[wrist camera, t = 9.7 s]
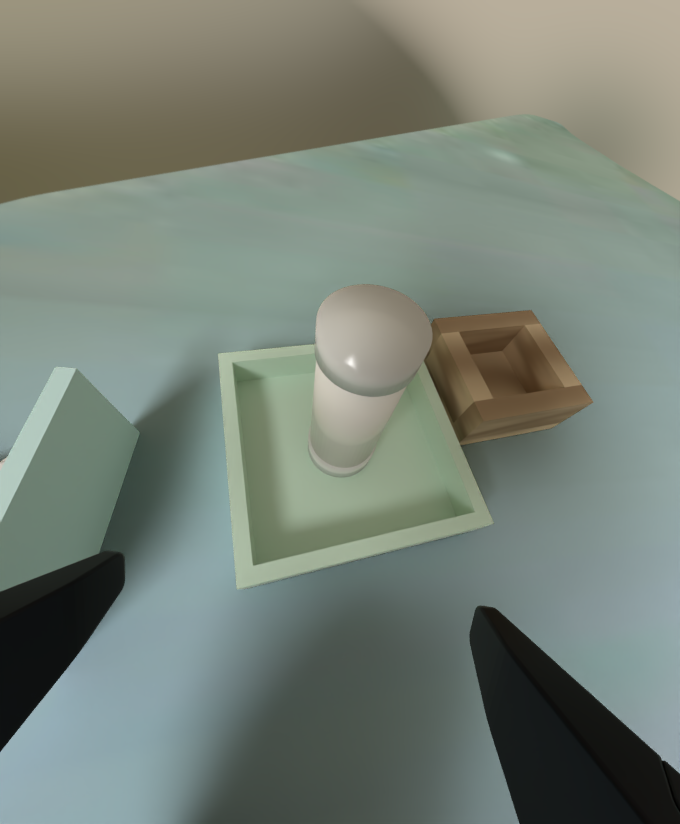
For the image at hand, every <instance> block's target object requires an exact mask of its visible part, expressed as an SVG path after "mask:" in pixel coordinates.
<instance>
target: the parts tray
mask: <svg viewBox="0 0 680 824" xmlns="http://www.w3.org/2000/svg"><path fill="white" fill-rule="evenodd" d="M314 347H315V344H311V345H301V346H291V347H280V348H270V349H260V350H250V351H240V352H230V353H220V354H218V359H219V372H220V384H221V397H222V409H223V422H224V435H225V447H226V460H227V473H228V485H229V498H230V511H231V523H232V536H233V548H234V561H235V574H236V586H237V589H248V588H252V587H256V586H260V585H264V584H267V583H271V582H275V581H279V580H283V579H287V578H291V577H295V576H299V575H303V574H306V573H310V572H314V571H318V570H322V569H326V568H330V567H334V566H338V565H342V564H346V563H349V562H353V561H357V560H361V559H365V558H369V557H373V556H377V555H381V554H385V553H388V552H392V551H396V550H400V549H404V548H408V547H412V546H416V545H420V544H424V543H428V542H431V541H435V540H439V539H443V538H447V537H451V536H455V535H459V534H463V533H467V532H470V531H473V530H476V529H479V528H482V527H485V526H488V525H491V524H494V522H493V520H492V518H491V515H490V513H489V511H488V508H487V506H486V504H485V501H484V499H483V497H482V494H481V492H480V490H479V487H478V485H477V483H476V480H475V478H474V476H473V474H472V471H471V469H470V467H469V464H468V462H467V460H466V457H465V455H464V453H463V450H462V448H461V446H460V443H459V441H458V439H457V436H456V434H455V432H454V430H453V427H452V425H451V423H450V420H449V418H448V416H447V413H446V411H445V409H444V406H443V404H442V402H441V399H440V397H439V395H438V392H437V390H436V388H435V386H434V383H433V381H432V379H431V376H430V374H429V372H428V369H427V367H426V365H425V362H424V361H423V362H422V364H421V366H420V368H419V370H418V372H417V373H416V375H415V377H414V378H413V380H412V381H411V382H410V383H409V384H408V385H407V387H406V389H405V391H404V392H403V394H402V396H401V398H400V400H399V402H398V404H397V406H396V408H395V409H394V411H393V413H392V415H391V417H390V419H389V421H388V423H387V425H386V427H385V428H384V430H383V432H382V434H381V436H380V438H379V440H378V442H377V444H376V448H375V451H374V453H373V455H372V457H371V458H370V460H369V462H368V464H367V465H366V466H365V468H364V469H363V470H361V471H360V472H359V473H357V474H355V475H353V476H349V477H333V476H330V475H327V474H325V473H323V472H322V471H320V470H319V469H318V468H317V467H316V466H315V465H314V463H313V462H312V460H311V458H310V456H309V453H308V435H309V429H310V426H311V418H312V405H313V393H314V380H315V367H316V358H315V350H314Z"/></svg>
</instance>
